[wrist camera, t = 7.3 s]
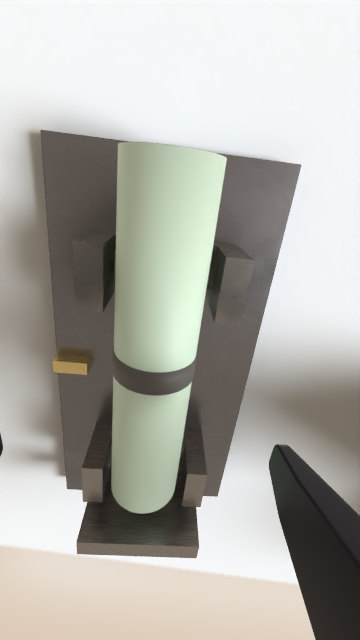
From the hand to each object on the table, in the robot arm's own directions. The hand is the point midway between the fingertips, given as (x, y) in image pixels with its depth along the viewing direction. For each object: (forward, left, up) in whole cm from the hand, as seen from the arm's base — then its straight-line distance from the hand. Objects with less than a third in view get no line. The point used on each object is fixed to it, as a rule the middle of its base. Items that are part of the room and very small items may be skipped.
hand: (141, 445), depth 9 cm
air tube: (0, 0, -5) cm, 5 cm away
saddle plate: (0, +3, -9) cm, 10 cm away
